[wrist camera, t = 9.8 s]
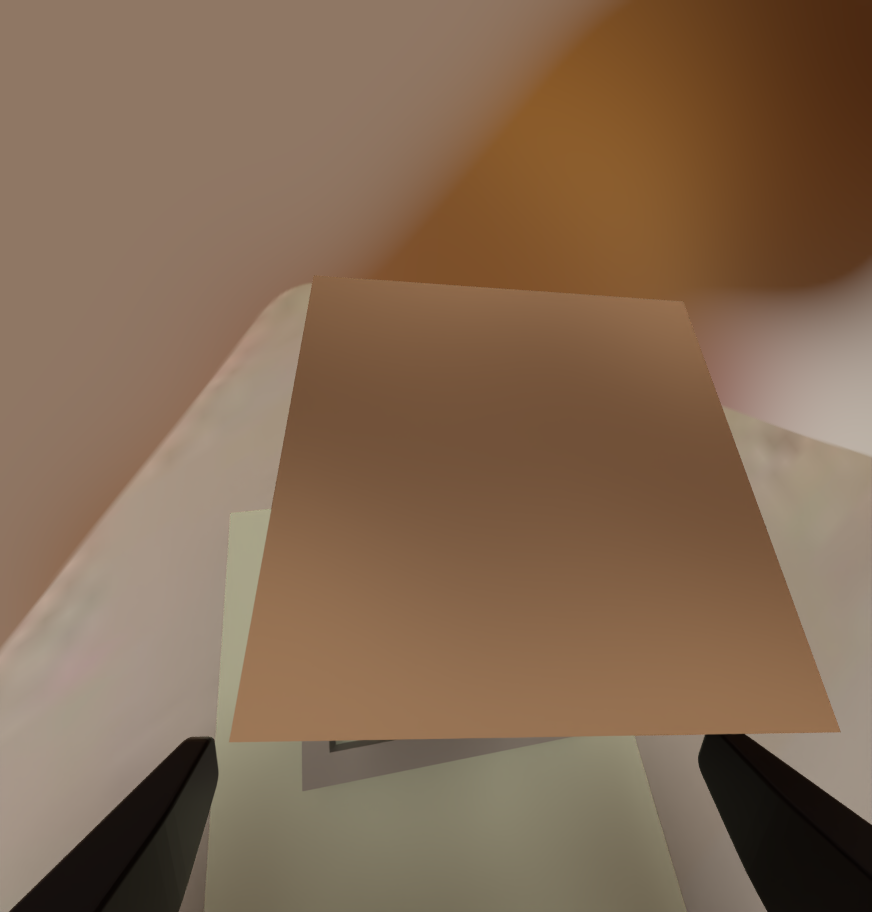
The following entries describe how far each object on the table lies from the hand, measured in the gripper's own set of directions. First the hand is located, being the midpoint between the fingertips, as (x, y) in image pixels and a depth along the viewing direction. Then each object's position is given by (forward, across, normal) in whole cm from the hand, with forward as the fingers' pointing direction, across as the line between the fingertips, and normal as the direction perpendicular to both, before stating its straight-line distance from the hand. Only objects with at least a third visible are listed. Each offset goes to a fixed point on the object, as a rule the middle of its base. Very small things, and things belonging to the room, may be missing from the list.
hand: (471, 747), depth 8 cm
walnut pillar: (+8, 0, +3) cm, 8 cm away
